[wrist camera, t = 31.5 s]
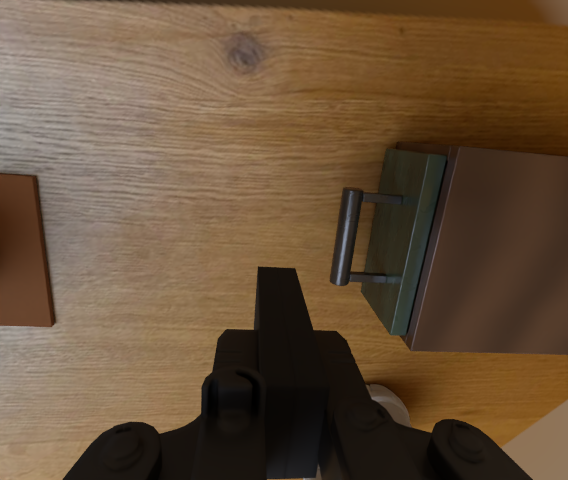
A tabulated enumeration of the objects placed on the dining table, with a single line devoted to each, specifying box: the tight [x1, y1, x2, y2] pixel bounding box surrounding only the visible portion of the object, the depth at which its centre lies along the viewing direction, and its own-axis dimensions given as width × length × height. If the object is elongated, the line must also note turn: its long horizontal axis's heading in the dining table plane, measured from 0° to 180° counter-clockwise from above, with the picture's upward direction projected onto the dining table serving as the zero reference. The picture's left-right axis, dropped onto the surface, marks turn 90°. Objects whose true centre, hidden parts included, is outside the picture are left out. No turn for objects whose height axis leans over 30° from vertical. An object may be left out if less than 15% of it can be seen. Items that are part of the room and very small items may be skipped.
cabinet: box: [396, 142, 568, 355], centre depth 26 cm, size 16×14×9 cm
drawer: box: [330, 148, 447, 336], centre depth 26 cm, size 19×13×7 cm
